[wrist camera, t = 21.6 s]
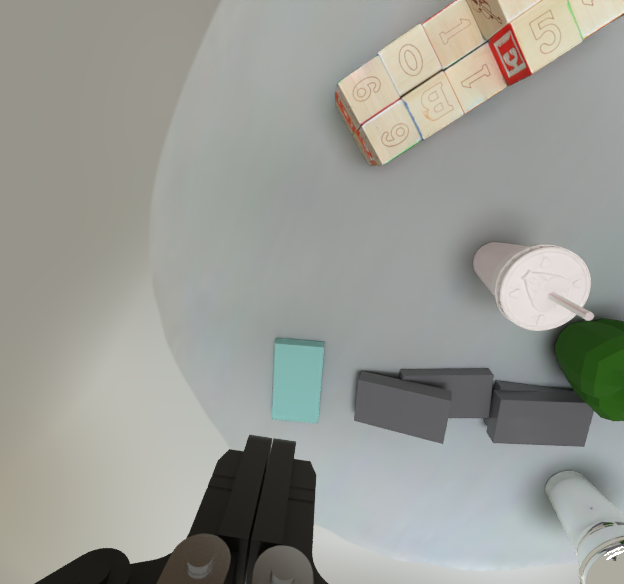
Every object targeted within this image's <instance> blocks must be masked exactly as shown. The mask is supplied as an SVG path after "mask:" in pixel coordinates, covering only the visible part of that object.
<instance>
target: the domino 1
mask: <svg viewBox="0 0 624 584" xmlns="http://www.w3.org/2000/svg"><path fill="white" fill-rule="evenodd" d="M323 356H324V342H321V341H308V340H296V339H284V338H277V339H276V342H275V353H274V378H273V403H272V419H274V420H285V421H297V422H308V423H318V417H319V405H320V392H321V380H322V368H323Z"/></svg>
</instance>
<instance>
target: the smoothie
mask: <svg viewBox="0 0 624 584" xmlns="http://www.w3.org/2000/svg"><path fill="white" fill-rule="evenodd" d="M473 268H474V271H475V272H476V274H477V275H478V276H479V278H480V279H481V280H482V281H483V283H484V284H485V285H486V287H487V288H488V289H489V290H490V292H491V293H492V294H493V296H494V297H495V299H496V304H497V306H498V308H499V310H500V312H501V313H502V314H503V315H504V316H505V317H506V318H507V319H508V320H510V321H512V322H513V323H515V324H516V325H518V326H520V327H522V328H525V329H528V330H534V331H543V330H549V329H553V328H556V327H559V326H561V325H563V324H565V323H567V322H568V321H570V320H571V319H572V318H574V317H575V316H576V315H578V316H580V317H582V318H583V319H585V320H587V321H590V320H592V319H593V318H594V314H593V313H592V312H590V311H588V310H586V309H584V308H583V306H584V305H585V303H586V301H587V299H588V296H589V293H590V289H591V277H590V272H589V269H588V267H587V265H586V264H585V262H584V261H583V260H582V259H581V258H580V257H579V256H578V255H577V254H575V253H573V252H572V251H569V250H567V249H565V248H564V247H560V246H556V245H552V244H540V245H536V246H524V245H516V244H508V243H499V242H491V243H488V244H485V245H484V246H482V247H481V248H480V249H479V250H478V251H477V252H476V254H475V256H474V259H473Z"/></svg>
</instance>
